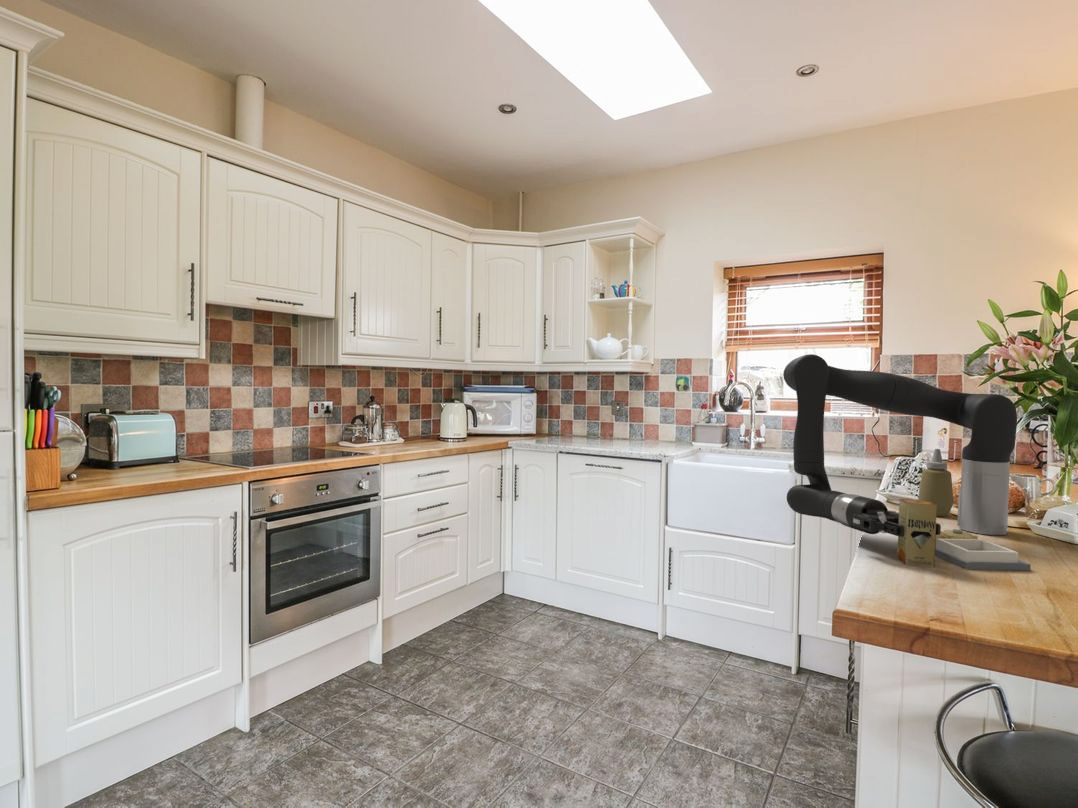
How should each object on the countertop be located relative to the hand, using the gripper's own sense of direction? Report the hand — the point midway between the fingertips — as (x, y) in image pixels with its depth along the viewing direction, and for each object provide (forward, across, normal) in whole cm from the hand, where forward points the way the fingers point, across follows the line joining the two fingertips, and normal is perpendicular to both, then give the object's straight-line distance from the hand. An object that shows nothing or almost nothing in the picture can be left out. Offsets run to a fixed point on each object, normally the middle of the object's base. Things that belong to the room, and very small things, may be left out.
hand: (921, 530), depth 114 cm
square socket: (+1, +13, +5) cm, 14 cm away
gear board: (-4, +14, +6) cm, 16 cm away
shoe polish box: (-1, 0, +7) cm, 7 cm away
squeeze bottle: (-36, +42, +7) cm, 56 cm away
